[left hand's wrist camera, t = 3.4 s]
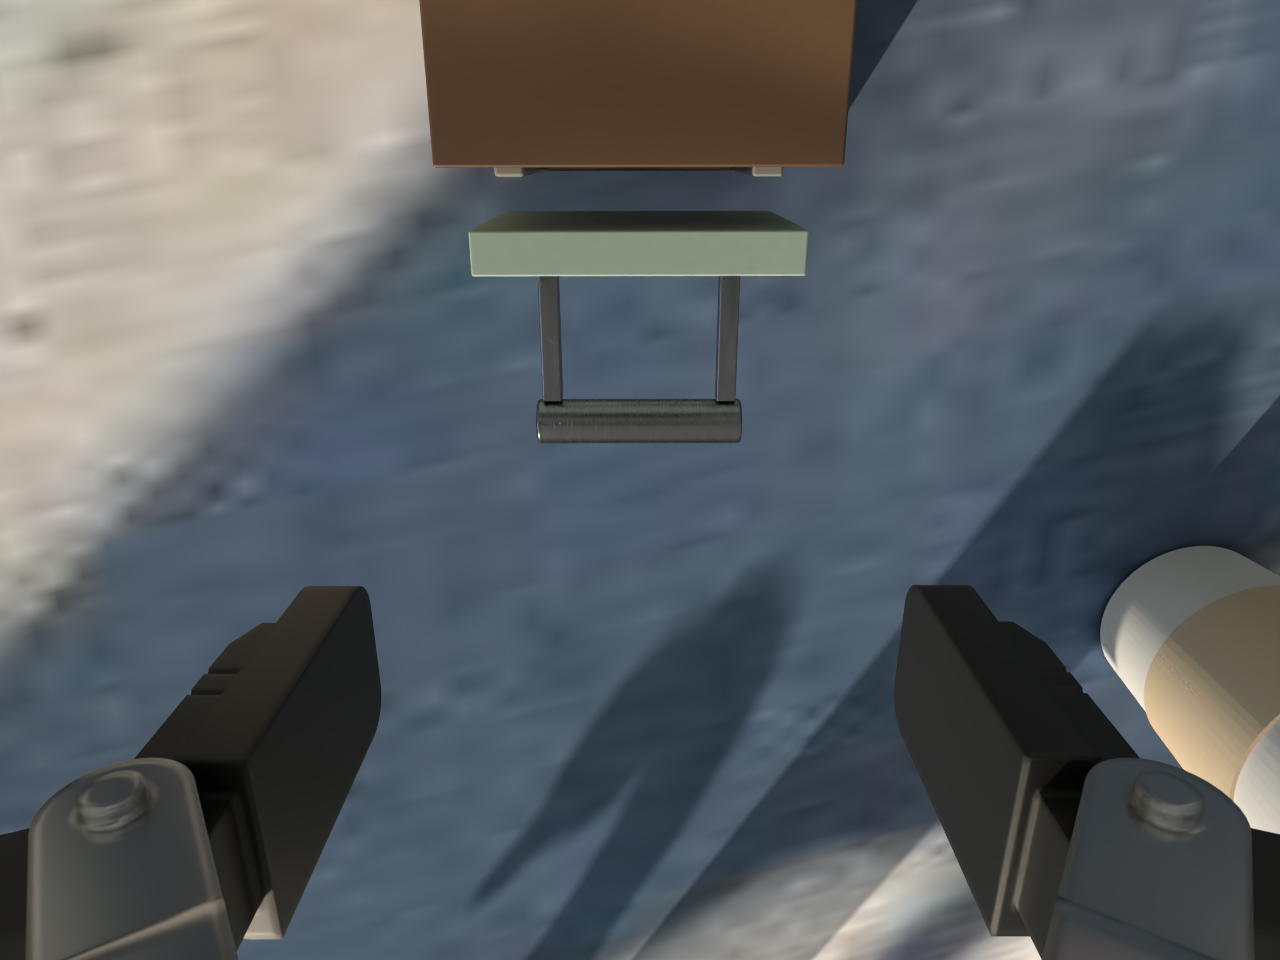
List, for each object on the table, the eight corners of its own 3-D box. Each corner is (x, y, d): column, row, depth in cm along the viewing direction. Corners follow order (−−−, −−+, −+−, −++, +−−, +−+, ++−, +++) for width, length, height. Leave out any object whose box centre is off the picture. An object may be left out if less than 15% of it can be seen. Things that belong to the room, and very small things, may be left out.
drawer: (760, 404, 32) (793, 473, 26) (517, 404, 32) (485, 473, 26) (793, -247, 25) (850, -391, 18) (482, -246, 25) (424, -390, 18)
